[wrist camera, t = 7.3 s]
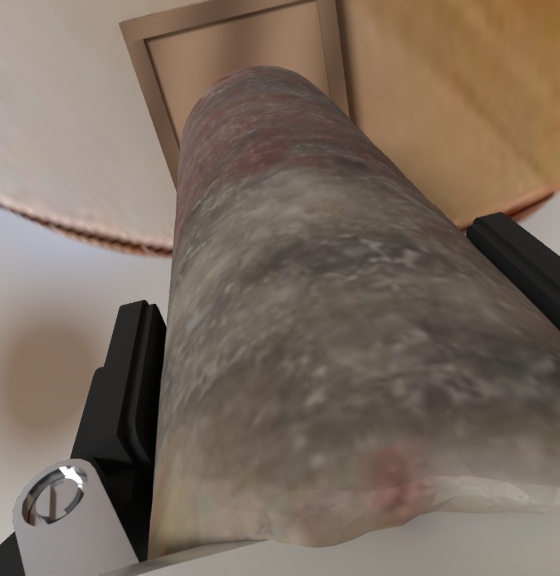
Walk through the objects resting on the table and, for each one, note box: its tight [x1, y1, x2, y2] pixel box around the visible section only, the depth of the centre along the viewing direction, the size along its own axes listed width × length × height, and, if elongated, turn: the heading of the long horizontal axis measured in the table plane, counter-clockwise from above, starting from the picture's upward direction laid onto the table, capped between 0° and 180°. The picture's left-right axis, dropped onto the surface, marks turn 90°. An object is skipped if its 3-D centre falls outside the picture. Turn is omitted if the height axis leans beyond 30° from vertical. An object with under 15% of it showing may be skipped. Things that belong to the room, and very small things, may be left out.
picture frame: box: [119, 0, 349, 191], centre depth 30 cm, size 12×12×2 cm
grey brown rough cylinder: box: [147, 65, 560, 561], centre depth 14 cm, size 8×7×20 cm
